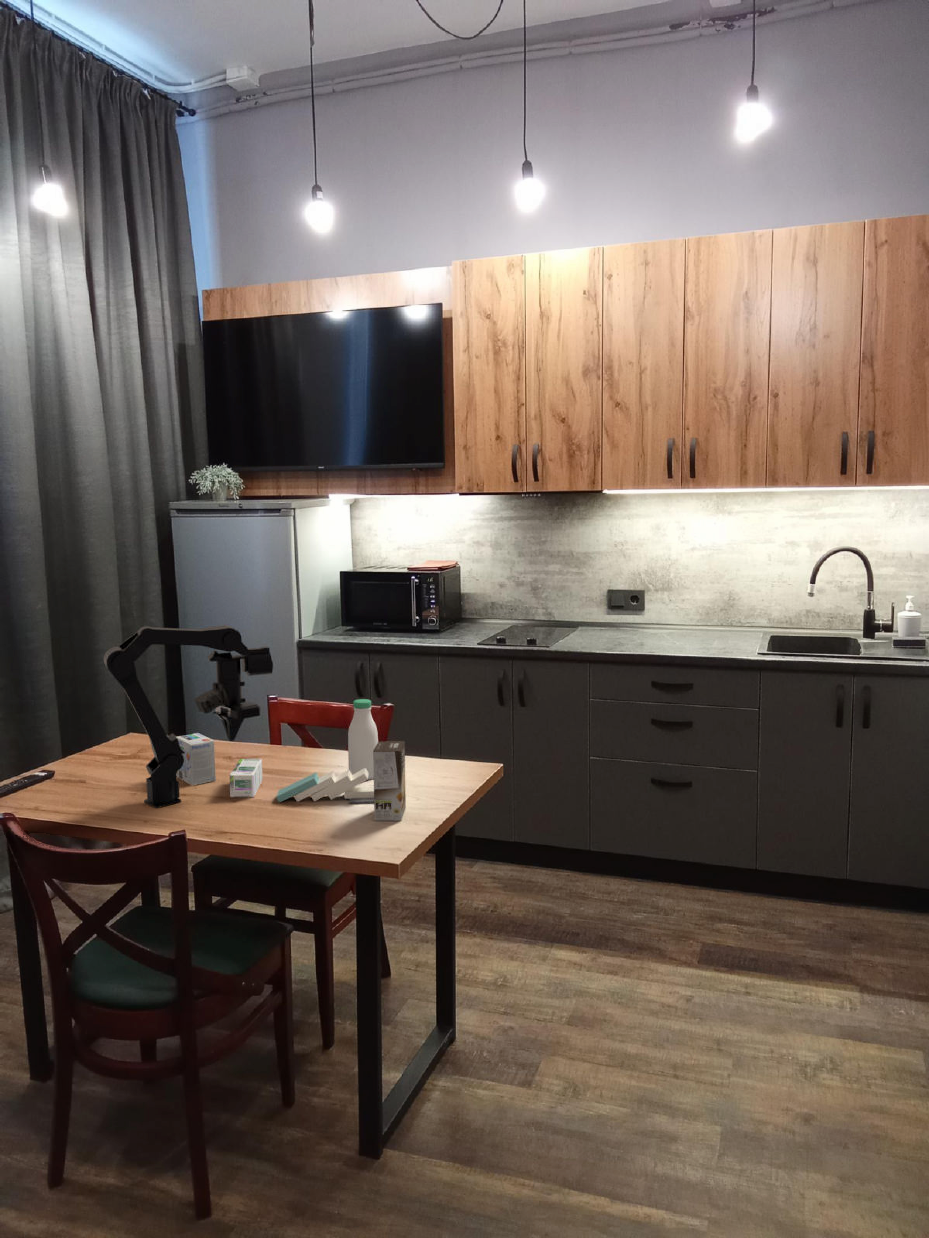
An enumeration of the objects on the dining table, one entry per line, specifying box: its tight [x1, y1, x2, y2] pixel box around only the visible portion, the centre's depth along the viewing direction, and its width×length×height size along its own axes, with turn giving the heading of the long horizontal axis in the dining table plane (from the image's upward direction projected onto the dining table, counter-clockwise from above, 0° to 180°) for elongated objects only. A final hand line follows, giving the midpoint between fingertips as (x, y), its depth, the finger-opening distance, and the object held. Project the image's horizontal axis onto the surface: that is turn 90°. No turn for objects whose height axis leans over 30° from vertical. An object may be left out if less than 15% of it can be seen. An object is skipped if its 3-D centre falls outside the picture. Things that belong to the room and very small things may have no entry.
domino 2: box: [293, 770, 337, 803], centre depth 228 cm, size 2×5×10 cm
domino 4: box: [327, 768, 369, 800], centre depth 228 cm, size 2×5×10 cm
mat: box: [349, 798, 374, 805], centre depth 229 cm, size 10×10×1 cm
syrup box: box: [229, 758, 263, 798], centre depth 236 cm, size 6×6×14 cm
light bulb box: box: [176, 732, 217, 786], centre depth 244 cm, size 11×7×11 cm, turn 38°
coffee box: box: [373, 740, 407, 822], centre depth 215 cm, size 9×6×16 cm
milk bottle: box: [347, 698, 379, 781], centre depth 245 cm, size 8×8×20 cm
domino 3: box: [310, 769, 352, 802], centre depth 228 cm, size 2×5×10 cm
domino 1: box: [275, 772, 320, 803], centre depth 228 cm, size 2×5×10 cm
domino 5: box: [344, 784, 374, 800], centre depth 229 cm, size 2×5×10 cm
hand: (231, 740), depth 232 cm, fingers closed
